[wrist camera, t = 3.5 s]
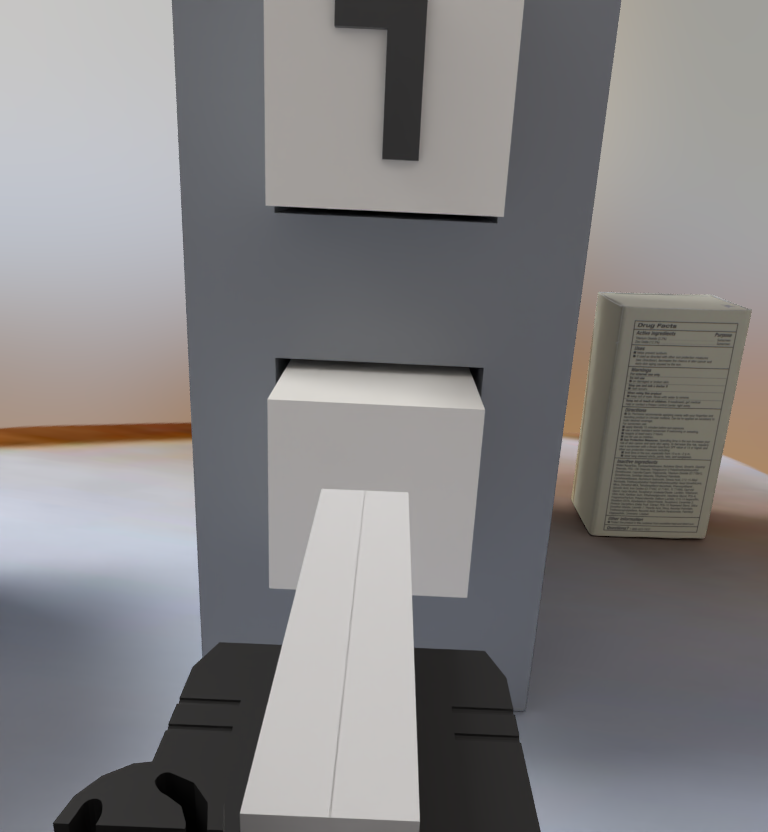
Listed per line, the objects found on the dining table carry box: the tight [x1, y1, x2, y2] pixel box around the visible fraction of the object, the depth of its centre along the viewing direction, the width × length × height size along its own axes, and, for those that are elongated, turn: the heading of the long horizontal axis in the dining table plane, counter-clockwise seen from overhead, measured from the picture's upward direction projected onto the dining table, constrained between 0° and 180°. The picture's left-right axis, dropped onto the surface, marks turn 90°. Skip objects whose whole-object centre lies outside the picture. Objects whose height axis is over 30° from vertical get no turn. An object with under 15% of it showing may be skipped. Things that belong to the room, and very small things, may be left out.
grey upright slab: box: [172, 0, 621, 711], centre depth 28 cm, size 11×17×25 cm, turn 179°
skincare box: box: [571, 292, 752, 538], centre depth 36 cm, size 6×4×12 cm
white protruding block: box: [264, 0, 524, 217], centre depth 18 cm, size 5×6×5 cm
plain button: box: [267, 359, 485, 598], centre depth 21 cm, size 5×6×5 cm
